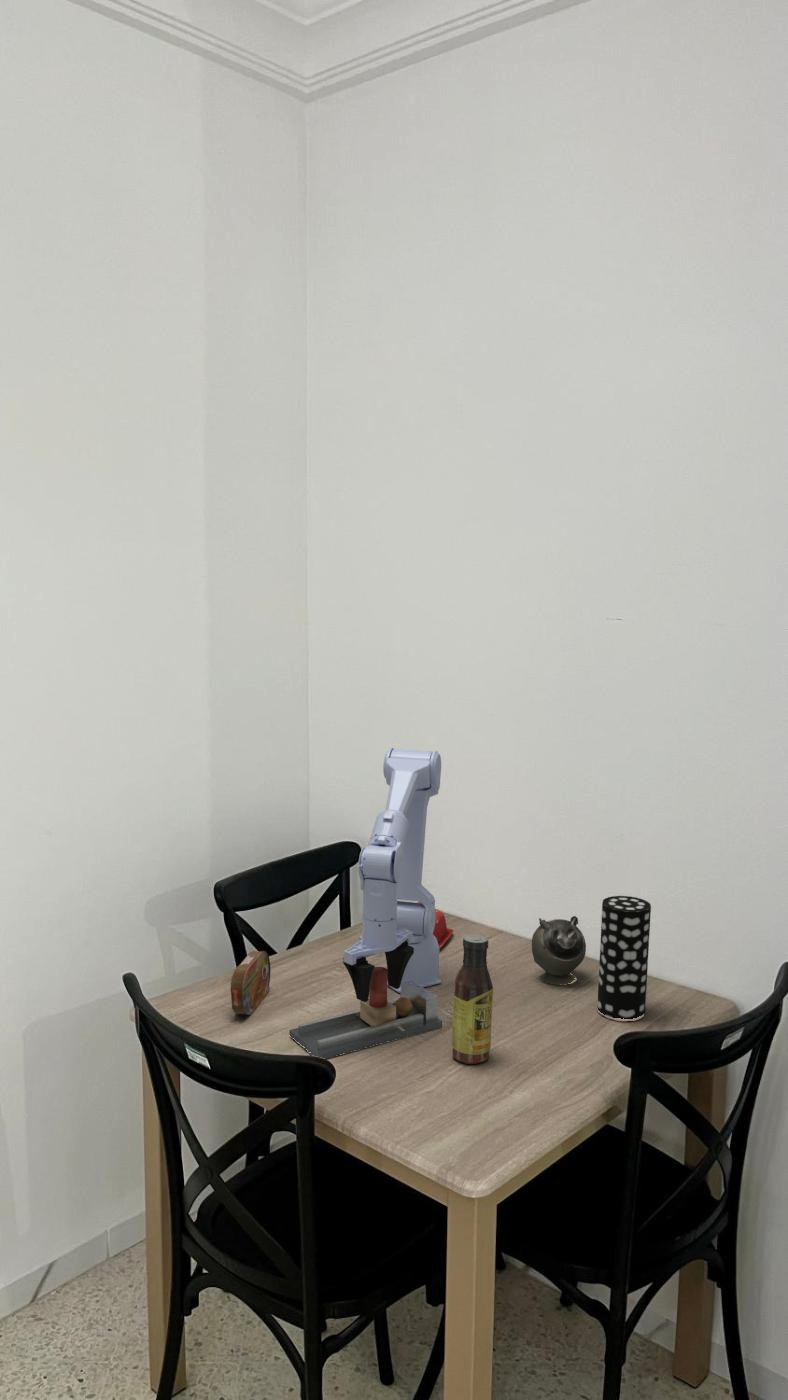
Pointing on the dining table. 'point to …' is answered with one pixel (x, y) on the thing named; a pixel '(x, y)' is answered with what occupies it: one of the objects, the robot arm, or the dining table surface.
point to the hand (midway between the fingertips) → (378, 993)
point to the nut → (403, 1006)
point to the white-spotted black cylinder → (623, 957)
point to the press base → (368, 1026)
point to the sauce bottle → (472, 1003)
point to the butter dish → (441, 928)
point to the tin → (250, 982)
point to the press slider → (378, 1000)
